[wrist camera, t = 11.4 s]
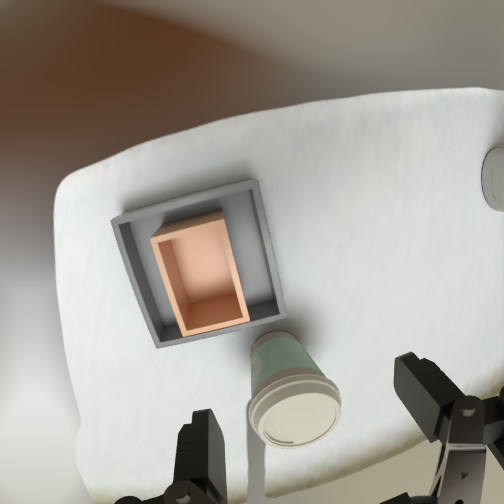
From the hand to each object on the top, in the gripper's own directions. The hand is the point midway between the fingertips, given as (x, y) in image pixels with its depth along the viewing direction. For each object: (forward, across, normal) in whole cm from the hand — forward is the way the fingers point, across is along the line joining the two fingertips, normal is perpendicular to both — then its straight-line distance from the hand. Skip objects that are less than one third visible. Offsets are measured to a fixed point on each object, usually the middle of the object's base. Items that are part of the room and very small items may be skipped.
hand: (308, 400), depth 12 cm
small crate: (+20, +5, -1) cm, 21 cm away
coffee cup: (+21, 0, +12) cm, 24 cm away
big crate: (+21, +5, -1) cm, 22 cm away
